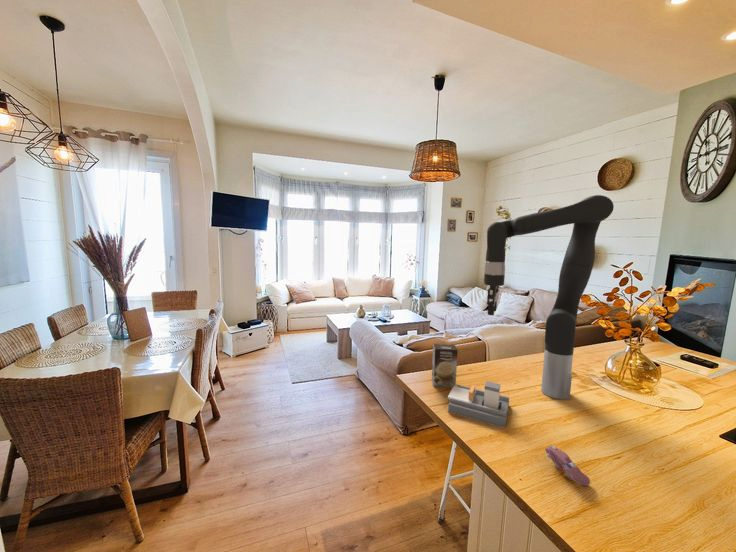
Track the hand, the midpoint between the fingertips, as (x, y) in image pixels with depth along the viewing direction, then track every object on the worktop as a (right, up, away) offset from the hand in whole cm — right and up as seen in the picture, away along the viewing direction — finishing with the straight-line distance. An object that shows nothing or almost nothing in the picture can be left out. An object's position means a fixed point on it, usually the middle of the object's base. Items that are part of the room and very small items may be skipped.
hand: (492, 312), depth 121 cm
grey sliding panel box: (-11, -32, -15) cm, 37 cm away
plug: (-8, -33, -17) cm, 37 cm away
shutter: (-16, -29, -13) cm, 35 cm away
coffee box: (-19, -30, +3) cm, 36 cm away
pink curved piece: (+1, -36, -44) cm, 57 cm away
